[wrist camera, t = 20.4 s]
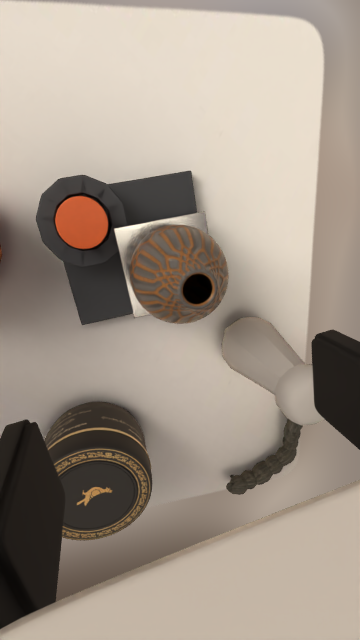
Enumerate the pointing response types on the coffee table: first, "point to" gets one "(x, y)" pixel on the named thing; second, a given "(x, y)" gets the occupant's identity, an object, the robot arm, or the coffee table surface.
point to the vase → (178, 274)
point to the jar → (100, 469)
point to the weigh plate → (134, 235)
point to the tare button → (81, 222)
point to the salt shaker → (272, 367)
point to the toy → (268, 462)
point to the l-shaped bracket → (109, 234)
